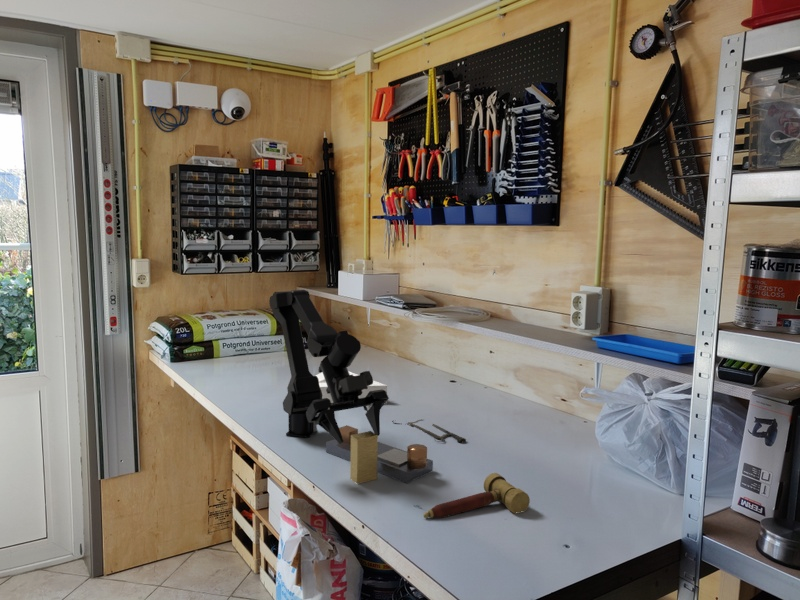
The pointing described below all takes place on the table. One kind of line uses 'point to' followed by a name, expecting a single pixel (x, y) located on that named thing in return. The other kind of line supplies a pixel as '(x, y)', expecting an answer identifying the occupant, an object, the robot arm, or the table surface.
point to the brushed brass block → (363, 457)
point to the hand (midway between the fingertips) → (360, 439)
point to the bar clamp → (458, 438)
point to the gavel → (485, 498)
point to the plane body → (387, 457)
